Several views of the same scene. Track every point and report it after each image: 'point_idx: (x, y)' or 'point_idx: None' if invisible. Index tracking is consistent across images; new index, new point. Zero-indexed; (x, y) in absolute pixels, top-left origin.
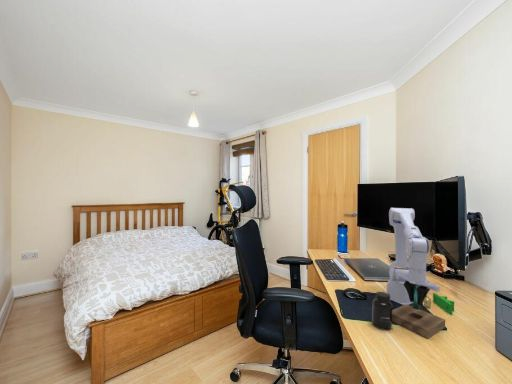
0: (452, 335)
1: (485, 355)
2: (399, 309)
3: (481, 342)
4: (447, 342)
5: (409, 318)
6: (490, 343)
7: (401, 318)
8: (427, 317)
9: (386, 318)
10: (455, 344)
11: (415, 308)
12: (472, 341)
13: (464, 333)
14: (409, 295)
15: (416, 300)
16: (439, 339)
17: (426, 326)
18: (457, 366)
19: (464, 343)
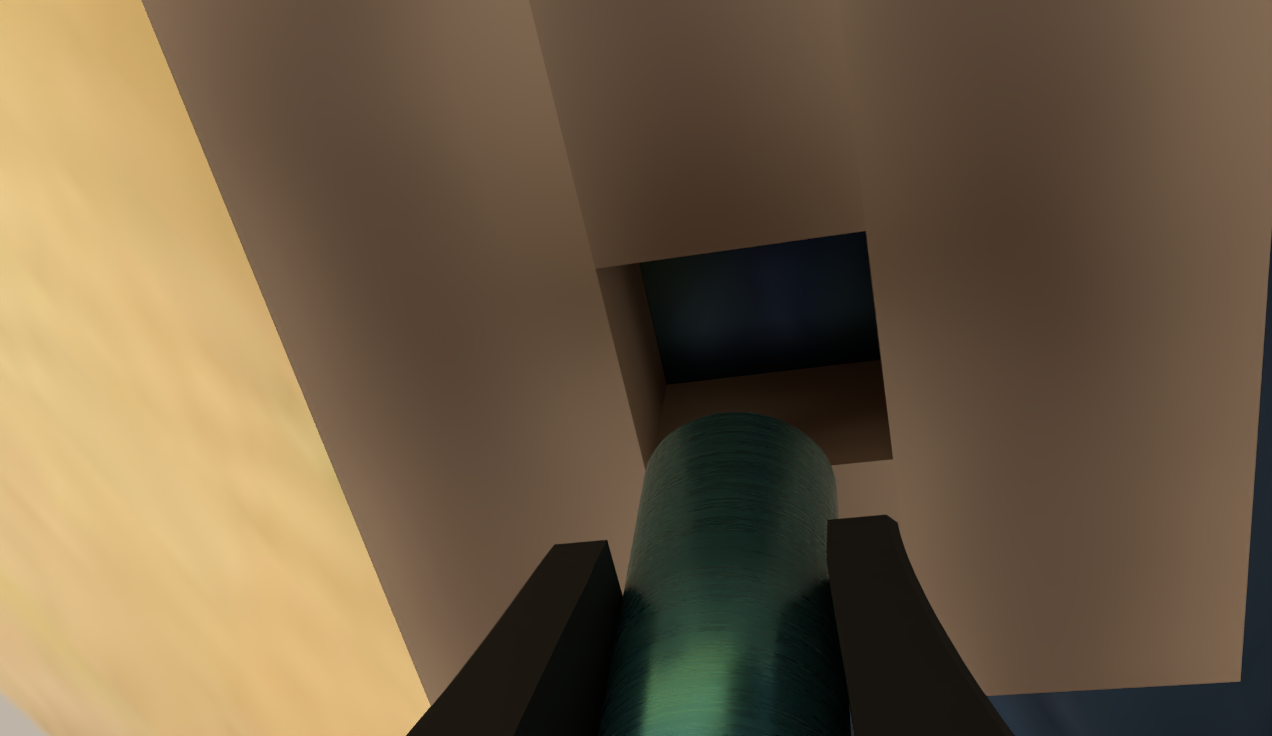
0: (262, 489)
1: None
2: (1177, 271)
3: (63, 657)
4: (88, 201)
5: (710, 64)
6: (37, 724)
7: None
8: (599, 523)
9: None
10: (28, 272)
11: (702, 429)
12: (91, 583)
13: (281, 688)
14: (906, 659)
15: (654, 627)
16: (185, 155)
17: (289, 120)
18: None
19: (49, 432)
